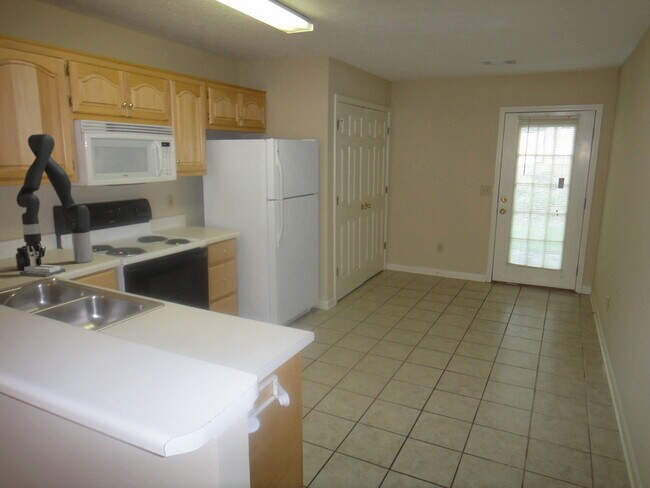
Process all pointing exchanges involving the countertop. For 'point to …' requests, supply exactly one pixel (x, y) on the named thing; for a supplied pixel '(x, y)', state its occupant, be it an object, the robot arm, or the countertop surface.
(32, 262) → the fader
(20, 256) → the supplement bottle
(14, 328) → the countertop surface
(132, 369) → the countertop surface
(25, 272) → the console
